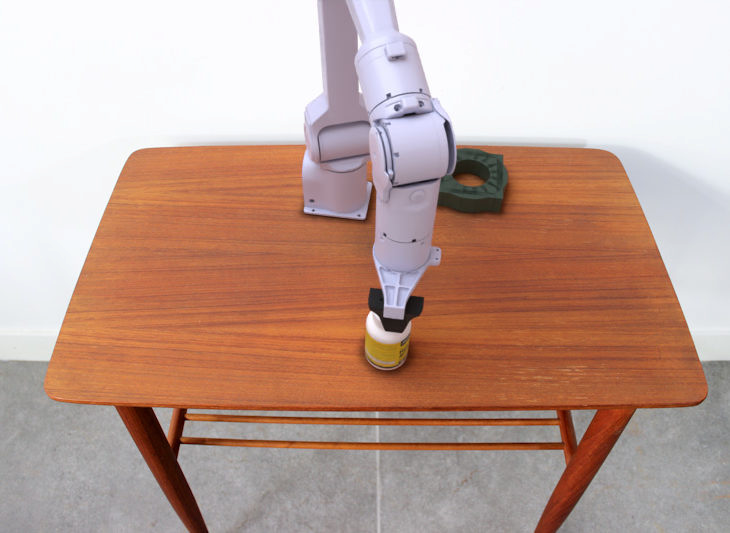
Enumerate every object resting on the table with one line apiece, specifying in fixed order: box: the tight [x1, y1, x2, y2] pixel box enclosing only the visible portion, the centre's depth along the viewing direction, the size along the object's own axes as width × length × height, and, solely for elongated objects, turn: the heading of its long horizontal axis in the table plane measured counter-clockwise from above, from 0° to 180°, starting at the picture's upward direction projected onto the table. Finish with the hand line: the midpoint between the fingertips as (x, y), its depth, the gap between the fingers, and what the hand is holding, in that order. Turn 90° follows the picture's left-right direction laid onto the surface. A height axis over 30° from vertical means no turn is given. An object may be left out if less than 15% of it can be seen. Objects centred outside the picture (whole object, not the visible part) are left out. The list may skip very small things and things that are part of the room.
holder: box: [437, 147, 509, 214], centre depth 94 cm, size 11×11×3 cm
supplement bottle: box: [364, 310, 412, 371], centre depth 72 cm, size 5×5×10 cm
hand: (397, 301), depth 69 cm, fingers open, 7 cm apart
